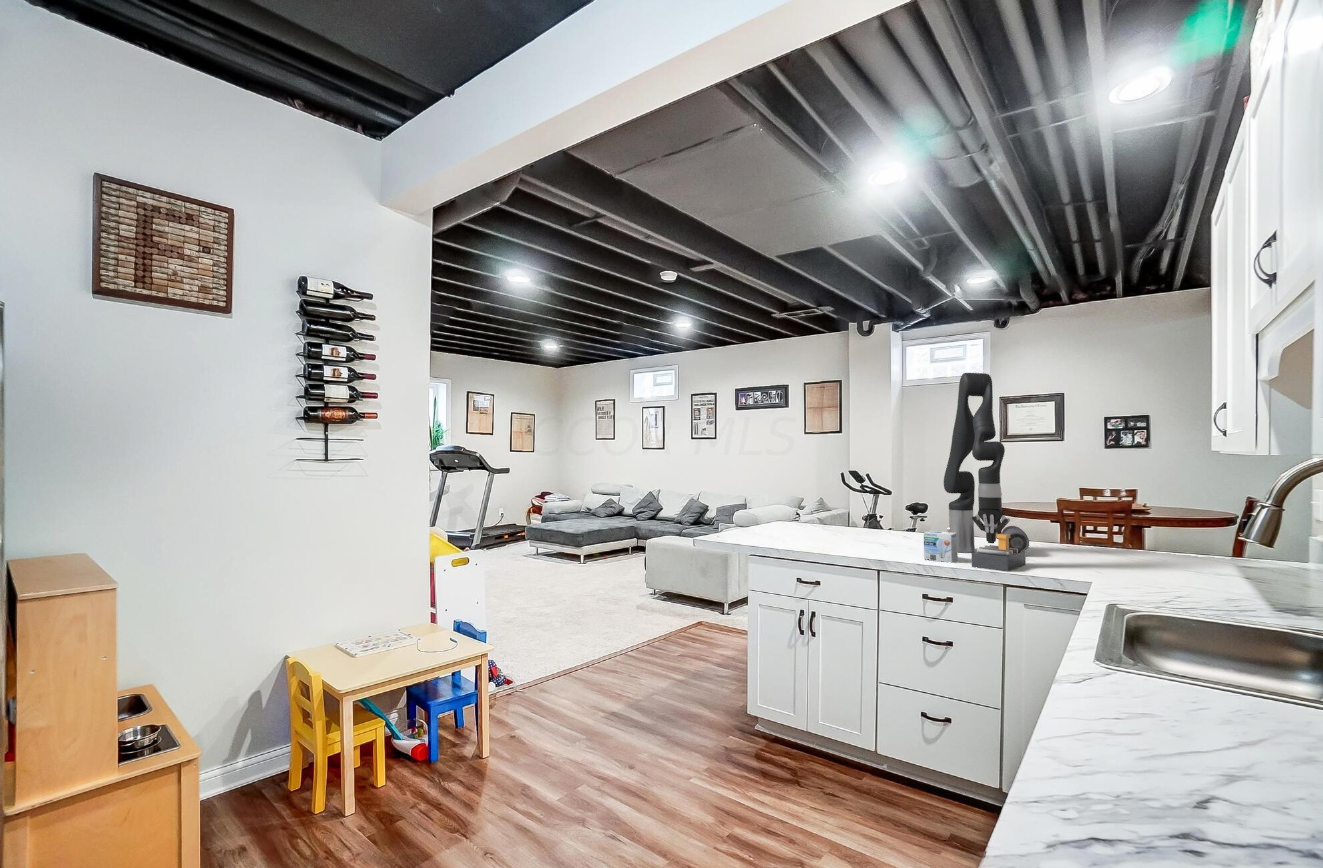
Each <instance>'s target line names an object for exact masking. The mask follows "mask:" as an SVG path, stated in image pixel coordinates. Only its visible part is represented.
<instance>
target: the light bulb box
mask: <svg viewBox="0 0 1323 868" xmlns="http://www.w3.org/2000/svg"><path fill="white" fill-rule="evenodd" d="M958 555H959V552H957V533H955V532H947V531H938V530H926V531H924V532H923V560H924V559H929V560H928V561H932V560H934V561H935V562H941V561H944V562H943V563H949V562H950V563H949V564H952V562H953V563H954V561H955V562H957V561H959V558H958V557H959V556H958ZM934 561H933V562H934Z"/></svg>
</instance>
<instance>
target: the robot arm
mask: <svg viewBox="0 0 1323 868" xmlns="http://www.w3.org/2000/svg"><path fill="white" fill-rule="evenodd" d="M957 394H958V395H957V406H956V413H955V414H956V415H955V420H954V426H953V429H952V430H953V431H952V437H951V445H950V452H949V455H948V457H949V458H948V461H947V465H946V468H945V472H944V476H943V488H944V491H945V492H946V493H948V494H960V495H959V497H958V498H957V499H954V500H953V501H950V502H949V503H948V517H949V518H948V520H949V521H948V523H949V527H947V529H946V530H947V531H946V532H955V533H957V553H974V552H976V551H975V525H974V523H975V524H976V526H977V527H978V529H980V531H982V532H985V535H986V537H985V538H986V542H987V543H988V544H995V542H996V541H997V538H996V535H997V533H999V532H1002V531H1003V529H1004V528H1006V527H1007V525H1008V524H1009V522H1010V521H1011V519H1010V518H1008V517H1006V516H1004V512H1003V509H1002V508H1003V504H1002V503H1003V502H1002V499H1003V498H1002V496H1003V495H1002V494H1003V493H1002V488H1001V467H1002V462H1003V459H1004V457H1005V451H1006V449H1005V445H1004V444H1003V443H1002V442H1001V441H994V440H993V439H995V437H996V435H997V433H996V427H995V421H994V410H993V406H994V405H993V404H994V403H993V400H994V399H993V398H994V397H993V396H994V395H993V381H992V376H991V375H990V374H989V373H986V372H985V373H984V372H981V373H980V372H964V373H962V374H961V376H960V380H959V384H958V393H957ZM969 397H981V398H982V402H981V404H980V405H979V407H978V409H977V410H976V412H975V413H974V415H973V413H972V411H971V409H970V405H969ZM991 440H993V441H991ZM971 453H972V457H973V458H974V459H975V460H976V461H980V462H981V461H982V462H983V461H984V462H985V461H986V462H987V461H988V462H989V461H991V462H992V463H991V465H988V466H984V467H980V468H979V469H978V472H977V473H978V474H977V475H978V488H977V489H978V490H977V493H978V494H977V495H978V497H977V498H978V511H977V514H976V515H974V506H975V505H974V504H975V491H976V490H975V487H976V485H975V477H974V475H973V473H972V472H971V471H967V470H965V471H964V470H962V471H961V470H960V469H961V466H962V464H963V462H964V461H965V459H966V458H967V457H968V456H969V455H970V454H971ZM999 522H1000V524H999V525H998V523H999Z"/></svg>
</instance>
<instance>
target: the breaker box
mask: <svg viewBox="0 0 1323 868" xmlns="http://www.w3.org/2000/svg"><path fill="white" fill-rule="evenodd" d="M995 546H996V545H994V546H990V545H984V547H983V546H979V547H978V549H987V550H996V551H1006V552H1009V553H1010V555H1009V556H1005V555H996V554H987V553H978V552H977V551H974V552H970V553H971V567H972V568H976V567H977V568H976V569H984V570H991V571H1001V572H1010V571H1013V570H1016V569H1018V568H1021V567H1024V566H1026V564H1027V563H1026V551H1021V552H1018V549H1015V548H1009V550H1004V549H999V547H995Z"/></svg>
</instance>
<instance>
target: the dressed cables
mask: <svg viewBox="0 0 1323 868" xmlns="http://www.w3.org/2000/svg"><path fill="white" fill-rule="evenodd" d="M989 546H995V547H999V546H998V545H994V544H993V545H992V544H990V545H989ZM1009 548H1014V547H1009ZM1015 549H1018V552H1021V549H1020V548H1015ZM976 552H978V553H987V554H996V555H1005V556H1009V555H1010V553H1009V552H1006V551H996V550H987V549H979V548H976Z"/></svg>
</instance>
